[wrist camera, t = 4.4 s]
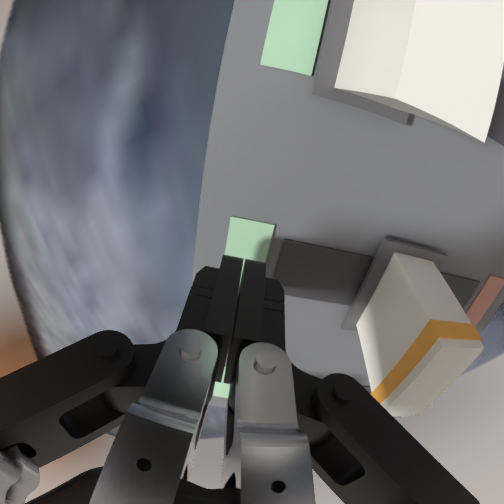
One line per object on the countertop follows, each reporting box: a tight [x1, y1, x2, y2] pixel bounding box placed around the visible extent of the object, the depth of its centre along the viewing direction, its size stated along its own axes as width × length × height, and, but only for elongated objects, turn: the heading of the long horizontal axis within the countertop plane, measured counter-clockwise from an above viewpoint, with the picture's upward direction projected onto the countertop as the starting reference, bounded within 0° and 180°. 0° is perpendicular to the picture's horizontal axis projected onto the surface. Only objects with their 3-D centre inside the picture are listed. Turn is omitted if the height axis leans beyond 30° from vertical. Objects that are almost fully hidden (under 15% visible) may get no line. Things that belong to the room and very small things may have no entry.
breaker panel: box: [191, 0, 504, 418], centre depth 13 cm, size 17×25×3 cm
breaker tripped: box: [340, 237, 484, 417], centre depth 10 cm, size 3×5×5 cm
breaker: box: [311, 0, 504, 143], centre depth 5 cm, size 3×5×5 cm
